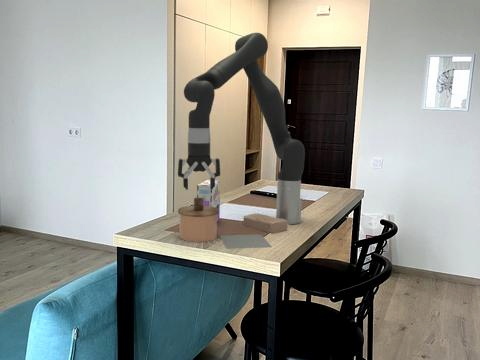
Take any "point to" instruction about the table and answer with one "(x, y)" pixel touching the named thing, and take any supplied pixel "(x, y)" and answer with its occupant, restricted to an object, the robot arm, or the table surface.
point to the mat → (244, 241)
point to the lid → (198, 209)
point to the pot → (198, 228)
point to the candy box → (210, 195)
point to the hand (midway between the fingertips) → (199, 188)
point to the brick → (265, 223)
